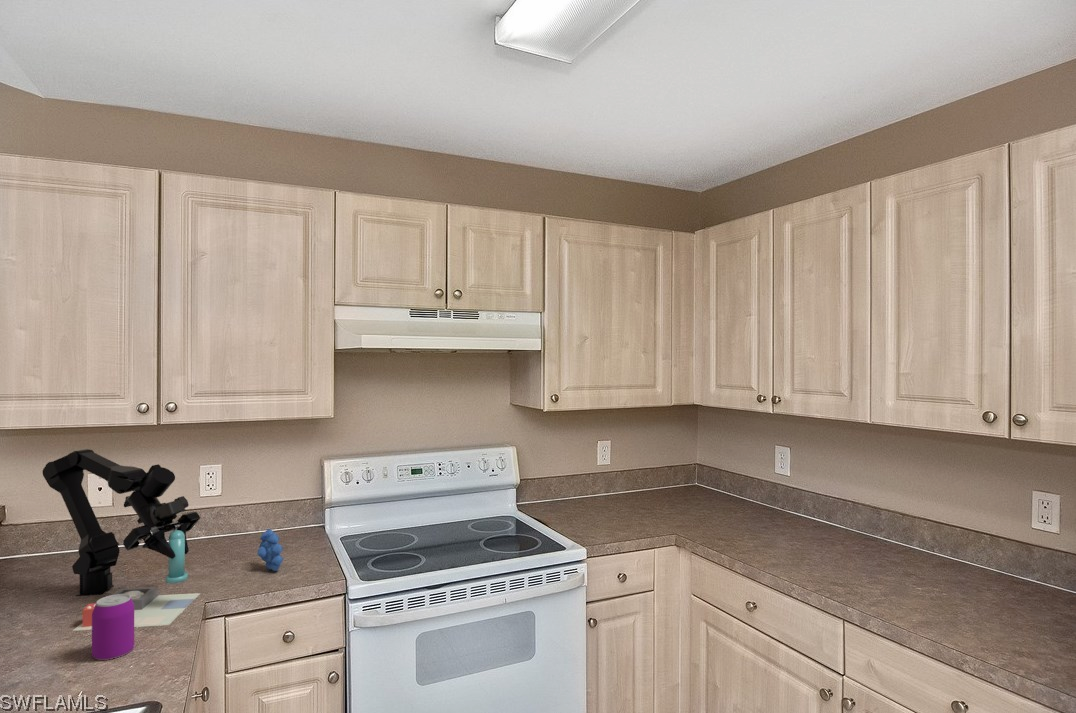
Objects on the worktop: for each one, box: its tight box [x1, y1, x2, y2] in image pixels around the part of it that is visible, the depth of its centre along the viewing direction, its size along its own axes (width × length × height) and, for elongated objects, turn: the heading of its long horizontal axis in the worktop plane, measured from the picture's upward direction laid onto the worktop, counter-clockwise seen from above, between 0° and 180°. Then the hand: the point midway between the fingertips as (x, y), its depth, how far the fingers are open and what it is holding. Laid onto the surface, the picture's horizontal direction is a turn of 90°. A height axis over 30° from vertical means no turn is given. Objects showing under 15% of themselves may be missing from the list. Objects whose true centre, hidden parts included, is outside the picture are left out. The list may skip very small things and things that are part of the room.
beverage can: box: [91, 593, 135, 661], centre depth 137 cm, size 8×8×12 cm
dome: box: [124, 591, 144, 599], centre depth 163 cm, size 6×6×2 cm
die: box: [82, 602, 96, 627], centre depth 152 cm, size 4×4×4 cm
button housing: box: [112, 586, 159, 610], centre depth 163 cm, size 9×9×2 cm
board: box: [72, 592, 201, 632], centre depth 159 cm, size 21×20×1 cm
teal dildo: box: [164, 530, 189, 584], centre depth 162 cm, size 5×5×13 cm
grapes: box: [256, 528, 284, 572], centre depth 189 cm, size 12×7×12 cm, turn 48°
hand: (180, 555), depth 162 cm, fingers closed on teal dildo, 4 cm apart
